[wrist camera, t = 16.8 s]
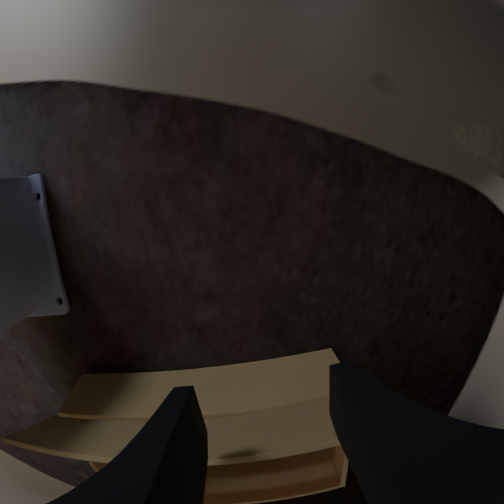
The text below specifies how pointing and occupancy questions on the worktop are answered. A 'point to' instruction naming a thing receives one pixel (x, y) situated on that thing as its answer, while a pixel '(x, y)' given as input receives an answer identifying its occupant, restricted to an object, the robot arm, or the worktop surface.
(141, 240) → the worktop surface
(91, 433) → the flap
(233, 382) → the carton
